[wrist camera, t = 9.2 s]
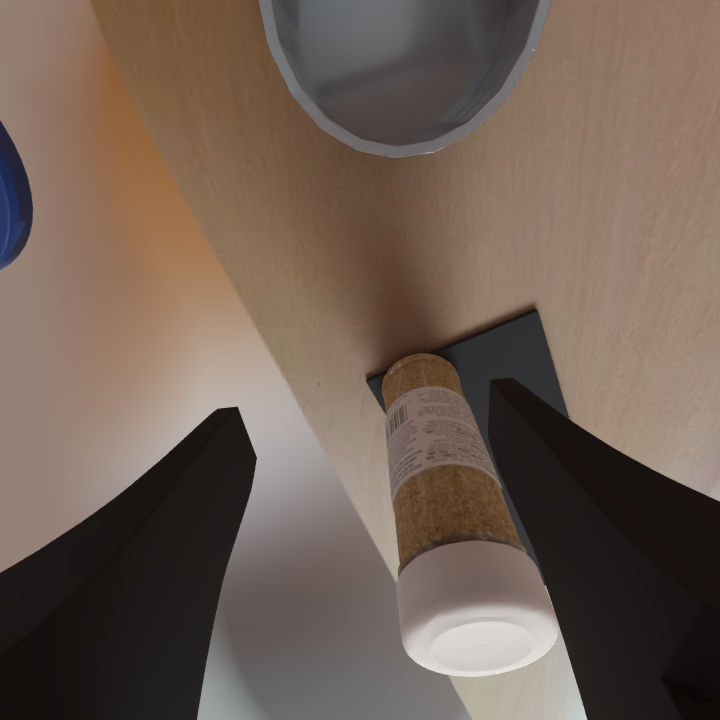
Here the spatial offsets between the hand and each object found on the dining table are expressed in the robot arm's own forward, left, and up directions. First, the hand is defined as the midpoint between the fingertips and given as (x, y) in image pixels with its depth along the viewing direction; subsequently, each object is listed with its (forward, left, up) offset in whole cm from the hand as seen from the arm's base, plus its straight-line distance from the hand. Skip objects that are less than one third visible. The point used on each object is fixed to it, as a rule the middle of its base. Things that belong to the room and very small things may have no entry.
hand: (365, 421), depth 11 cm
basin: (+3, +11, -10) cm, 15 cm away
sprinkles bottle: (+2, -6, -10) cm, 12 cm away
